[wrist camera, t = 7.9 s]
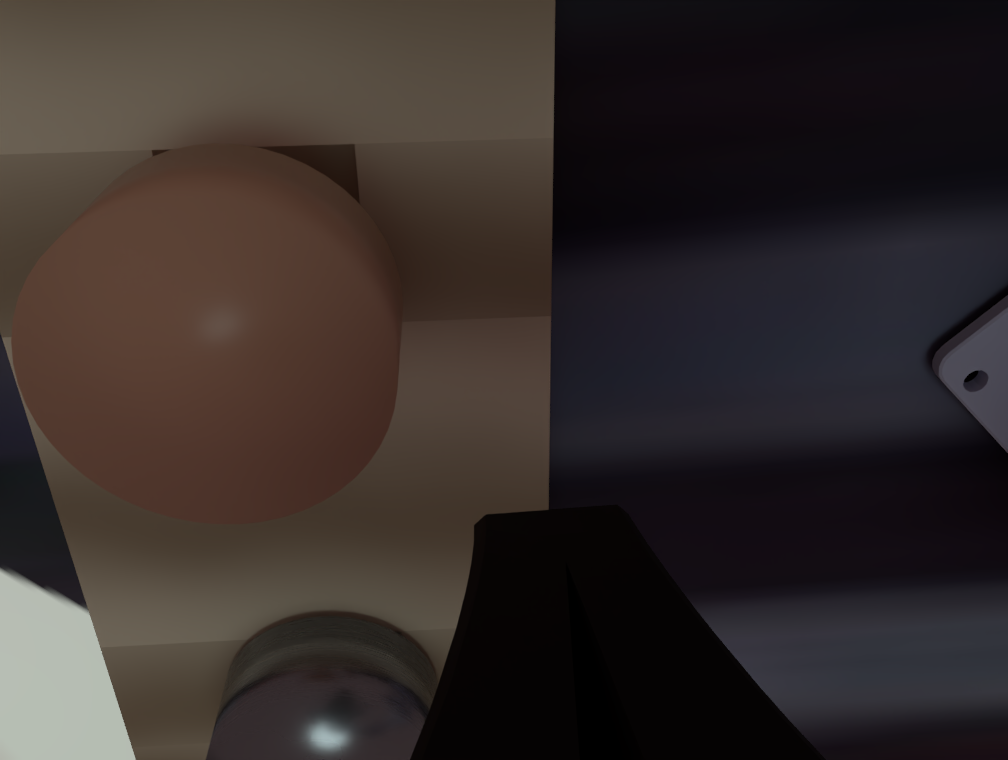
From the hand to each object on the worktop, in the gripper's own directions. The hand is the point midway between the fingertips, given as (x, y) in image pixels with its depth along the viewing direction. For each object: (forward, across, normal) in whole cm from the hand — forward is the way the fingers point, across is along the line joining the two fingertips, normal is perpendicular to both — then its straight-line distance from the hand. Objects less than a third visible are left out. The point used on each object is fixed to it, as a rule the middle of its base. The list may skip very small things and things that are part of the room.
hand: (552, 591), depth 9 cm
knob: (+10, +4, +9) cm, 14 cm away
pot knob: (+7, +4, -1) cm, 8 cm away
